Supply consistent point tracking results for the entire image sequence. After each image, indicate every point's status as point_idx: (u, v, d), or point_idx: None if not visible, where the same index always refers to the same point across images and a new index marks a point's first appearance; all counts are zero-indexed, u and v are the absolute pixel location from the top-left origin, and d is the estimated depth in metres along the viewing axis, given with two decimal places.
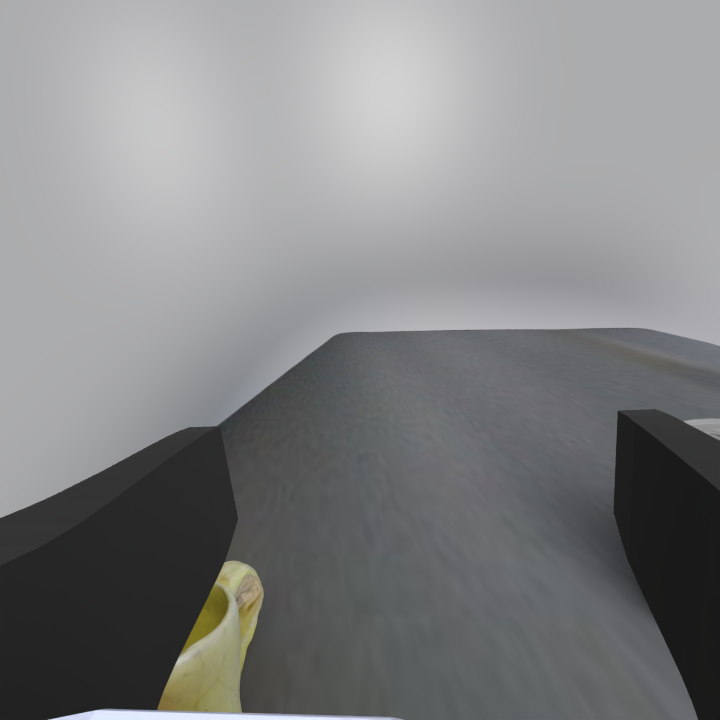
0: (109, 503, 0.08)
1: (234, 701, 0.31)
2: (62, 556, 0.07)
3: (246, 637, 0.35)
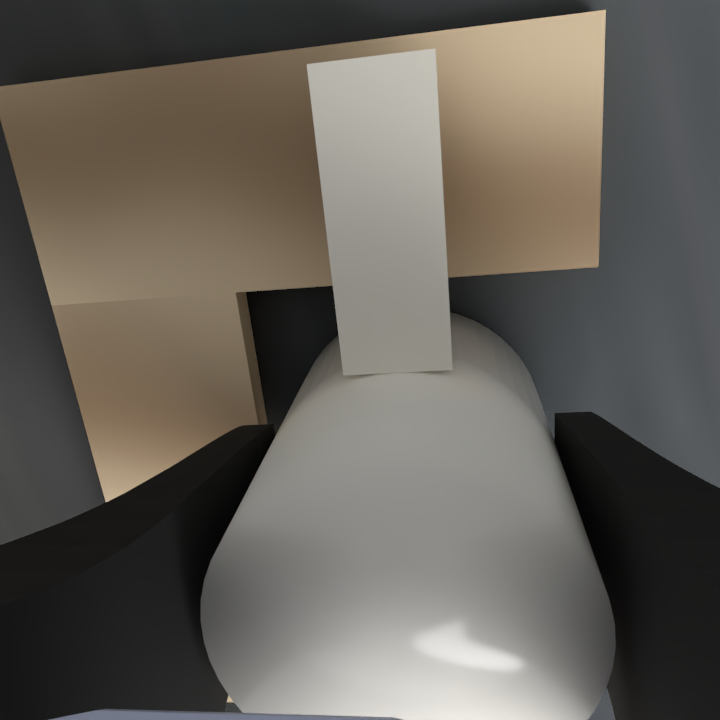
0: (183, 501, 0.08)
1: None
2: (146, 555, 0.07)
3: None
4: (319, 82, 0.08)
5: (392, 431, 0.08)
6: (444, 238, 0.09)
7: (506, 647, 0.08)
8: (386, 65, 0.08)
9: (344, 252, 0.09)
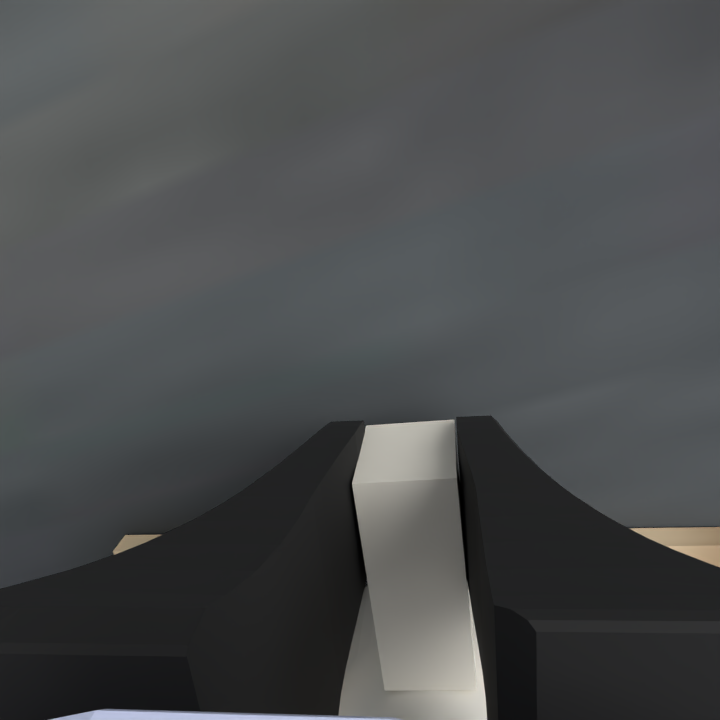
0: (311, 499, 0.08)
1: None
2: (291, 554, 0.07)
3: None
4: (362, 495, 0.10)
5: None
6: (467, 601, 0.10)
7: None
8: (417, 487, 0.10)
9: (384, 607, 0.11)
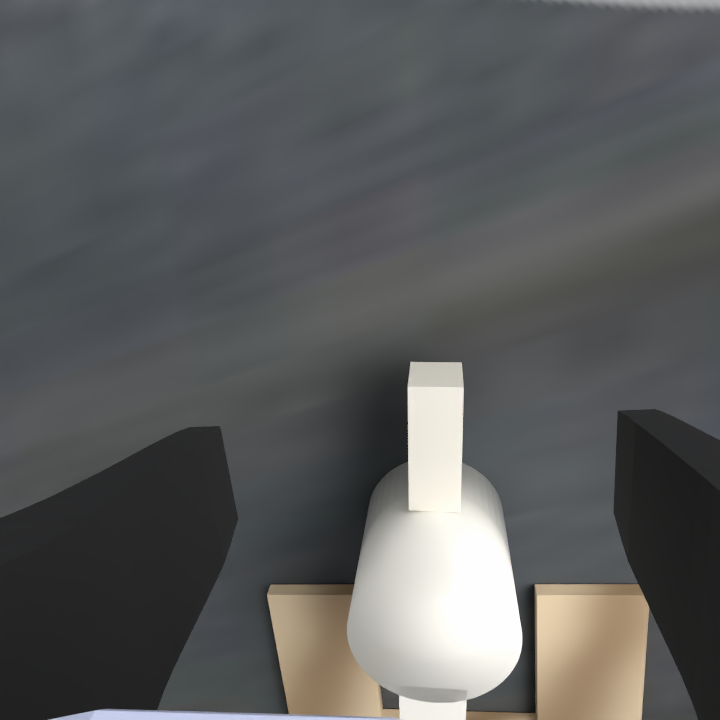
0: (109, 503, 0.08)
1: None
2: (62, 556, 0.07)
3: None
4: (412, 393, 0.19)
5: (435, 549, 0.18)
6: (461, 458, 0.19)
7: (477, 641, 0.18)
8: (442, 391, 0.18)
9: (415, 459, 0.19)
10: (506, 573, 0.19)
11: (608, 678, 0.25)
